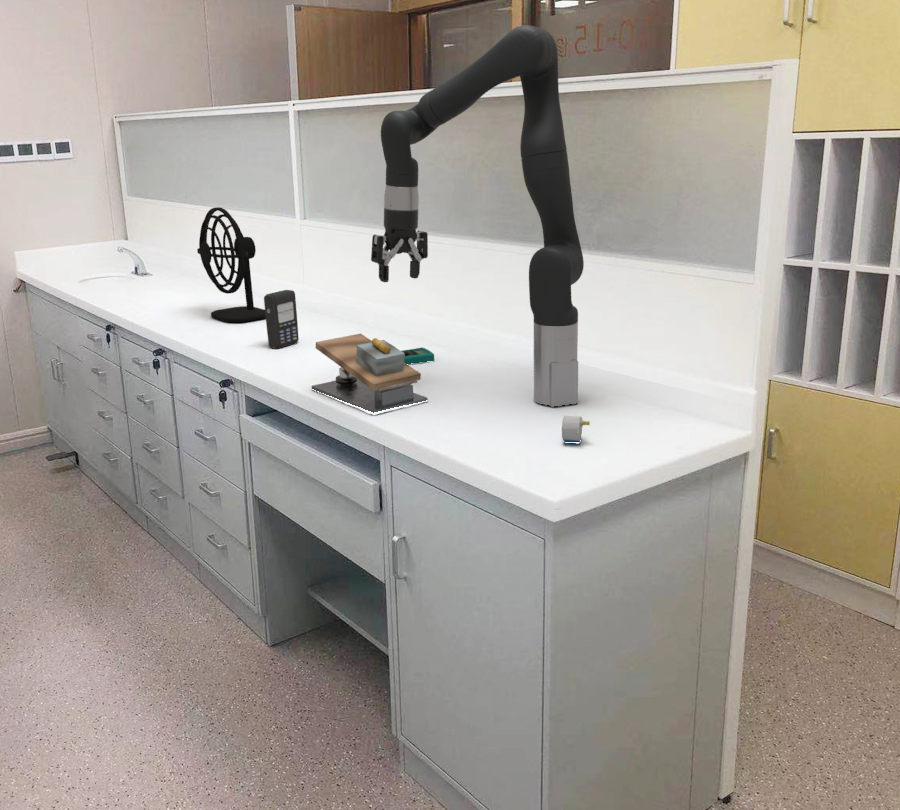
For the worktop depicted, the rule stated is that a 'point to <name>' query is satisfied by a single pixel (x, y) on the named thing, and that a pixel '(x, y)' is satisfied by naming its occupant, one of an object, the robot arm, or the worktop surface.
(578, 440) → the electric motor
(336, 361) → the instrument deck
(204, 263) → the desk fan
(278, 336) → the card reader
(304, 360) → the worktop surface
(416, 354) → the digital multimeter
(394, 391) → the levelling stand
